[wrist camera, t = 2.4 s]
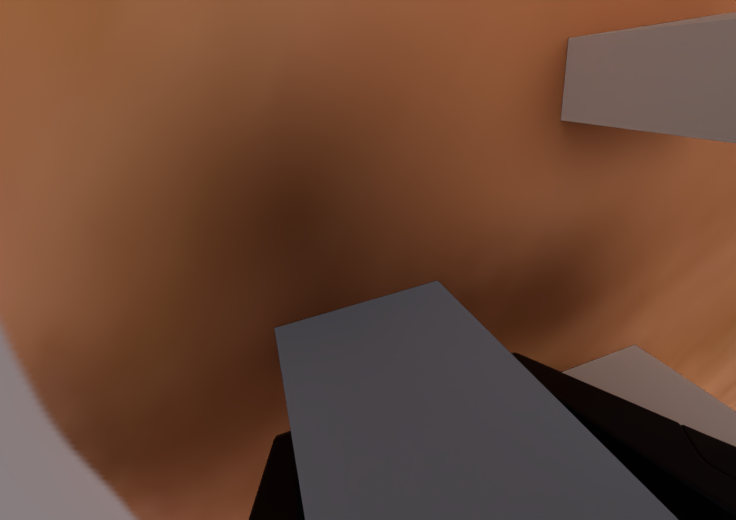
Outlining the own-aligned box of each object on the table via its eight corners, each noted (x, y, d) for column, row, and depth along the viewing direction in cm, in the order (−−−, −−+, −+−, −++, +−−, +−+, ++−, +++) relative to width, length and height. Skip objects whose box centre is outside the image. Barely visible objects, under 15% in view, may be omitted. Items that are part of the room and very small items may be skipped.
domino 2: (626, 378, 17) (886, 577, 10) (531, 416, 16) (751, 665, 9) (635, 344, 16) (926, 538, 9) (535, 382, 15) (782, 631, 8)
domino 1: (440, 332, 13) (689, 638, 6) (290, 380, 12) (373, 827, 5) (437, 280, 12) (730, 571, 5) (274, 328, 11) (348, 788, 4)
